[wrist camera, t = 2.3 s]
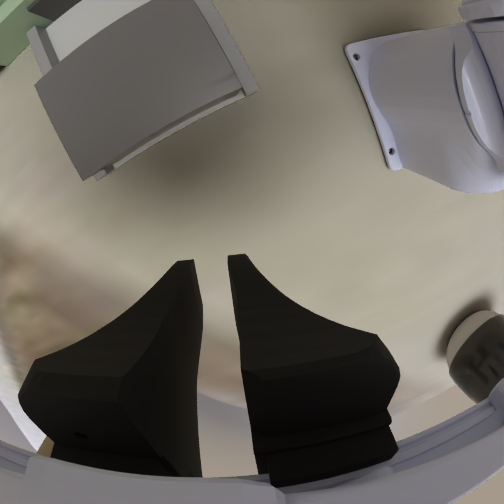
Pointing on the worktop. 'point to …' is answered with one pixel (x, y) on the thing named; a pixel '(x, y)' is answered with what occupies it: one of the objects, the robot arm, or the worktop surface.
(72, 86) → the grey open box
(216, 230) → the worktop surface
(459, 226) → the worktop surface
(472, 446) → the robot arm
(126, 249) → the worktop surface
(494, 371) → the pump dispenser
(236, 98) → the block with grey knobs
